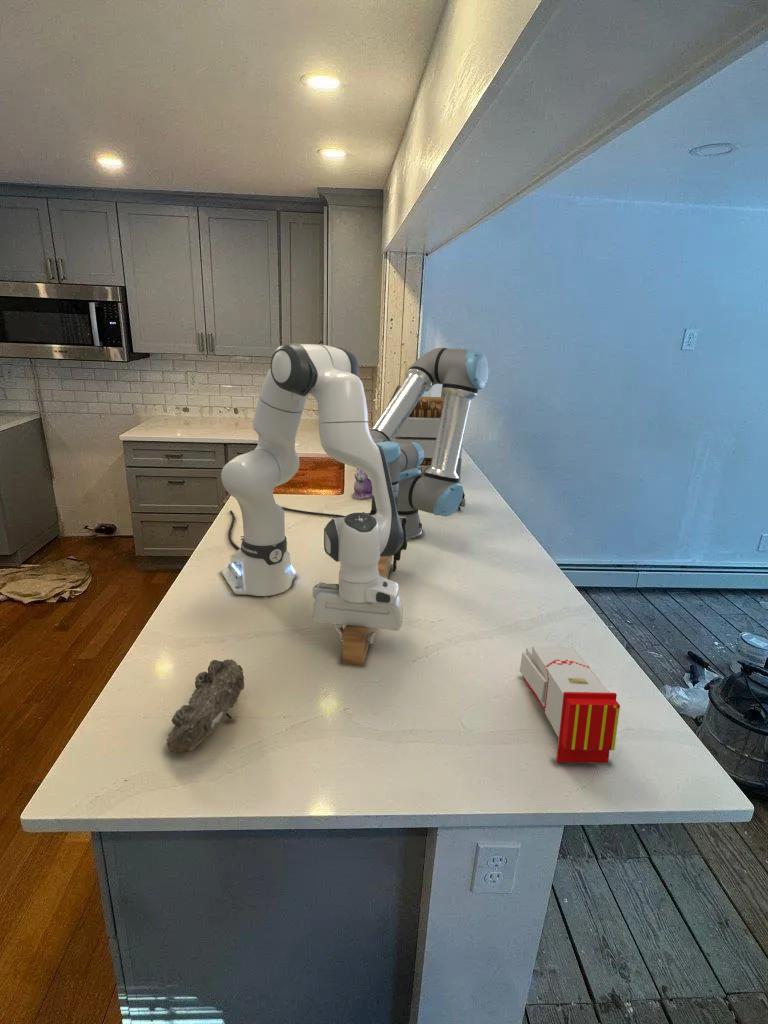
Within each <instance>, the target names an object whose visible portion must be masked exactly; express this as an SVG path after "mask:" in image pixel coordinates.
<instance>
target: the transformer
mask: <svg viewBox="0 0 768 1024" xmlns="http://www.w3.org/2000/svg"><path fill="white" fill-rule="evenodd" d="M400 387H401V385H399V384H398V385H397V386H396V388H395V390H394V392H393V394H392V395H391V398H390V400H389V402H388V404H389V403H390V401H391V400H392V398H393V397H394V395H395V394H396V393H397V391H398V390H399V388H400ZM440 393H441V394H440V396H422V397H421V398H420V400H419V401H418V403H417V404H416V406H415V407H414V409H413V410H412V412H411V413H410V415H409V416H408V418H407V419H406V421H405V422H404V424H403V425H402V427H401V428H400V430H399V431H398V433H397V434H396V436H395V437H394V439H393V440H392V442H397V443H402V444H406V443H412V442H414V443H417V444H419V445H420V446H421V447H422V448H423V451H424V460H423V462H422V463H421V464H420V465H419V466H418V467H430V466H431V462H432V457H433V452H434V447H435V442H436V437H437V432H438V428H439V423H440V418H441V413H442V408H443V403H444V398H445V393H444V392H443V390H442V389H441V392H440ZM388 404H387V405H386V407H387V406H388ZM463 442H464V440H463V441H462V444H463ZM462 453H463V445H462V446H461V450H460V455H459V460H458V464H457V469H456V473H457V475H458V477H459V482H458V483H459V484H460V483H461V472H462V461H463V460H462Z"/></svg>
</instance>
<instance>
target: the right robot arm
mask: <svg viewBox="0 0 768 1024" xmlns="http://www.w3.org/2000/svg"><path fill="white" fill-rule="evenodd" d="M488 379H489V363H488V360H487V357H486V356H485V354H484V353H483V352H481V351H479V350H473V349H465V348H464V349H461V348H449V347H435V348H433V349H431V350H429V351H427V352H425V353H424V354H422V355H421V356H420V357H418V358H417V359H416V360H415V361H414V362H413V363H412V364H411V366H410V367H409V368H408V370H407V371H406V372H405V379H404V381H403V382H402V384H401V385H400V386H401V387H400V388H399V390H398V391H397V393H396V394H395V395H394V397H393V398H392V397H391V398H392V400H391V399H390V400H391V401H390V400H389V401H390V403H389V402H388V403H389V404H387V405H388V406H387V405H386V407H385V408H384V410H383V411H382V413H381V414H380V416H379V417H378V418H377V420H376V421H375V423H374V425H372V427H371V428H370V429H369V431H370V434H371V437H372V439H373V441H374V442H375V444H377V445H379V446H381V448H382V449H383V451H384V454H385V457H386V460H387V464H388V468H389V473H390V478H391V483H392V488H393V493H394V498H395V503H396V508H397V512H398V515H399V519H400V522H401V525H402V529H403V535H404V541H403V544H402V546H401V548H400V549H399V550H398V551H397V552H396V553H395V554H394V555H393V560H392V561H393V562H392V572H396V570H397V563H398V562H399V561H400V560H401V556H402V551H406V550H407V549H408V541H410V540H415V539H418V538H420V537H421V536H422V535H423V523H421V518H420V515H419V511H421V512H425V513H429V514H431V515H432V514H433V515H434V516H440V517H450V516H452V515H453V514H454V513H456V511H457V510H458V507H459V505H460V502H461V500H462V496H463V491H464V487H463V486H462V484H460V482H459V477H458V475H457V473H456V469H457V464H458V460H459V455H460V450H461V446H462V447H463V443H462V441H463V442H464V437H465V436H464V435H465V431H466V427H467V421H468V417H469V411H470V407H471V403H472V400H473V399H474V398H476V397H477V396H478V392H479V390H483V389H484V388H485V387H486V385H487V383H488V381H489V380H488ZM435 385H442V386H441V391H442V390H443V392H444V393H445V398H444V403H443V408H442V413H441V418H440V423H439V428H438V432H437V437H436V442H435V447H434V452H433V457H432V462H431V465H430V466H429V468H427V469H426V470H424V474H423V475H422V470H421V469H420V468H418V467H420V466H419V465H420V464H421V463H422V462H423V460H424V451H423V448H422V447H421V446H420V445H419V444H417V443H414V442H412V443H406V444H402V443H397V442H392V440H393V439H394V437H395V436H396V434H397V433H398V431H399V430H400V428H401V427H402V425H403V424H404V422H405V421H406V419H407V418H408V416H409V415H410V413H411V412H412V410H413V409H414V407H415V406H416V404H417V403H418V401H419V400H420V398H421V397H423V396H424V394H425V393H426V392H429V391H430V390H431V389H432V387H433V386H435ZM458 482H459V483H458ZM281 507H282V509H283V510H284V511H288V512H293V513H300V514H306V515H314V516H324V517H334V518H339V517H345V516H346V515H343V514H334V513H325V512H317V511H307V510H302V509H301V510H300V509H293V508H289V507H285V506H281ZM376 512H377V508H376V503H375V499H374V494H373V489H372V496H371V509H370V511H369V512H364V511H363V512H362V513H366V514H369V515H375V514H376ZM397 561H398V562H397Z"/></svg>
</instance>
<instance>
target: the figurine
mask: <svg viewBox="0 0 768 1024" xmlns="http://www.w3.org/2000/svg"><path fill="white" fill-rule="evenodd" d="M354 479H355V482H354V483H353V491H354V492H353V497H354V499H356V500H364V499H370V498H372V496H373V495H372V484H371V480H370V478H369V477H368V475H367V474H366V473H365V472H363V471H362V470H360V469H358V468H356V470H355V472H354Z"/></svg>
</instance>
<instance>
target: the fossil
mask: <svg viewBox="0 0 768 1024" xmlns="http://www.w3.org/2000/svg"><path fill="white" fill-rule="evenodd" d="M243 670H244V669H243V667H242V665H240V664H237V662H236V661H235V660H234V659H232V658H231V659H227V658H226V659H224V660H223V661H222V660H217V659H212V660H211V661H210V663H209V665H208V666H207V671H201V672H199V673H198V674H197V675H196V676H195V680H194V684H195V685H194V687H195V689H194V690H193V693H192V694H191V697H190V698H189V700H188V704H184V705H182V706H181V707H180V709H177V710H176V711H175V713H174V715H173V716H172V718H171V723H172V724H173V727H172V730H171V731H170V732H168V734H167V738H166V741H167V742H166V745H167V749H168V750H169V751H173V752H174V753H176V754H178V753H182V752H188V751H189V752H192V751H193V750H195V748H196V747H197V746H199V744H200V743H201V742H203V741H204V740H205V739H206V738H207V737H208V736H209V735H210V734H211V733H212V732H214V730H215V729H217V727H218V726H219V724H220V722H221V721H222V720H223V719H224V718H225V716H226V717H227V719H229V720H233V717H232V715H230V714H229V710H230V709H231V708H234V706H235V704H236V703H237V702H238V699H239V697H240V695H241V693H242V691H243V690H245V689H244V688H245V675H244V671H243Z"/></svg>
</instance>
